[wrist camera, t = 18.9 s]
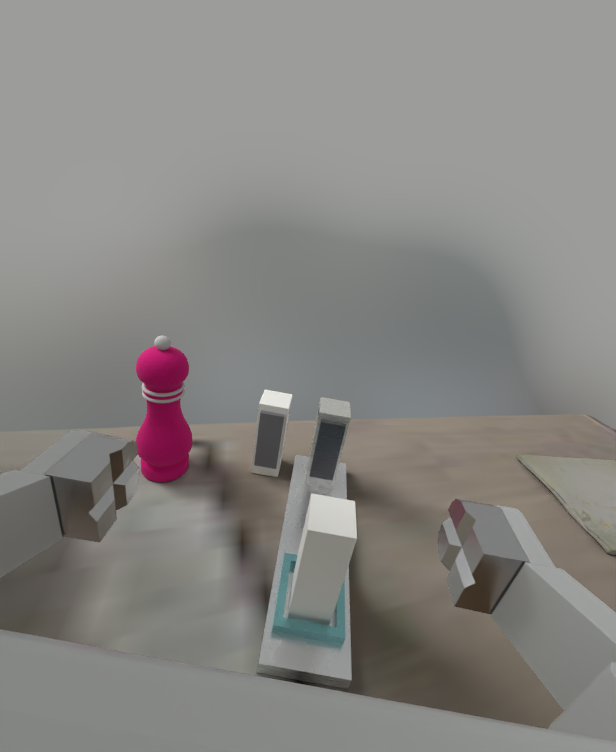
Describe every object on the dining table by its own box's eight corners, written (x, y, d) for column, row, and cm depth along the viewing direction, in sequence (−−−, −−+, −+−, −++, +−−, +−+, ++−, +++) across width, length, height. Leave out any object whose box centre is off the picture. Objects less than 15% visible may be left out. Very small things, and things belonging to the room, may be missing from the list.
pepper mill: (146, 449, 53) (140, 322, 44) (196, 452, 54) (199, 329, 45) (129, 483, 46) (117, 343, 38) (186, 486, 47) (187, 351, 39)
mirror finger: (250, 475, 51) (258, 405, 46) (256, 455, 55) (264, 389, 50) (277, 480, 51) (288, 411, 46) (281, 460, 55) (292, 394, 50)
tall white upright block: (287, 618, 33) (307, 529, 28) (293, 572, 37) (311, 488, 32) (329, 625, 33) (357, 538, 28) (330, 579, 37) (354, 496, 32)
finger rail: (256, 672, 30) (274, 571, 24) (294, 462, 55) (307, 387, 50) (348, 689, 30) (388, 592, 24) (343, 471, 55) (363, 397, 50)
